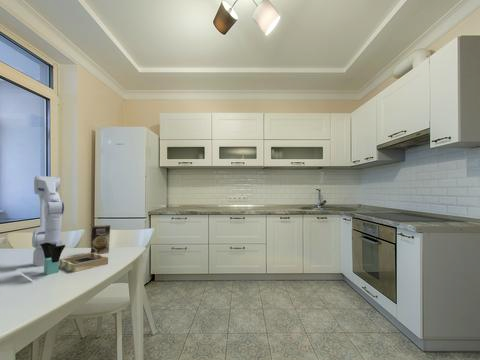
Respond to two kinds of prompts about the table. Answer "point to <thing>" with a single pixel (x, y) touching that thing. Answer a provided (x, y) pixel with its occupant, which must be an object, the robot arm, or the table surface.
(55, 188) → the robot arm
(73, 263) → the frame
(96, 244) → the coffee box
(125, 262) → the table surface
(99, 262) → the oak box
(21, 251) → the table surface
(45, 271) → the teal peg
